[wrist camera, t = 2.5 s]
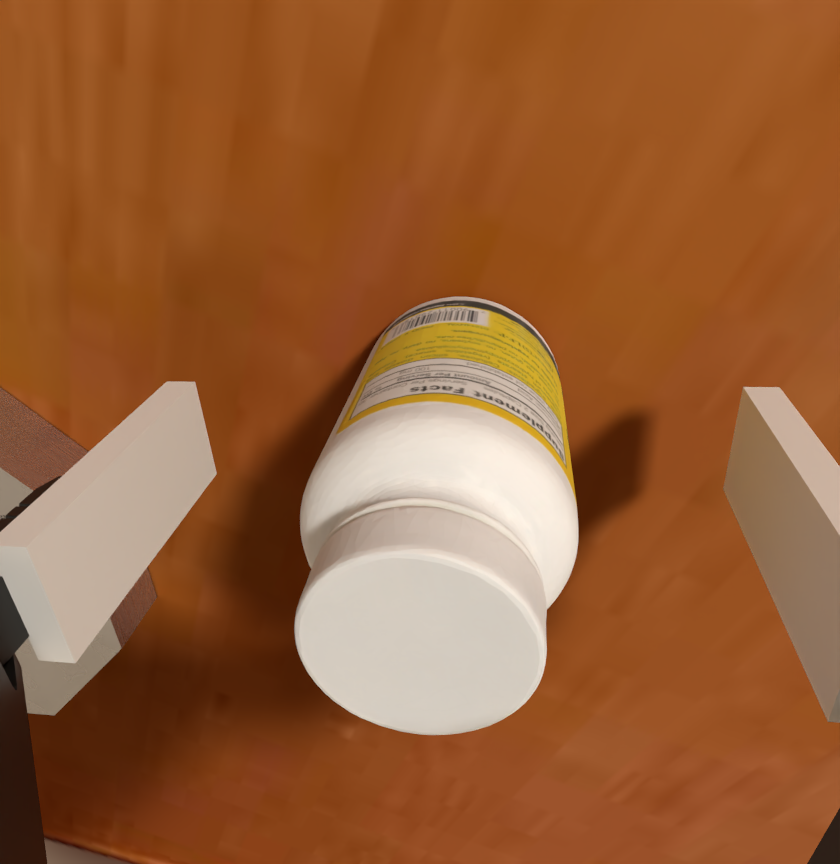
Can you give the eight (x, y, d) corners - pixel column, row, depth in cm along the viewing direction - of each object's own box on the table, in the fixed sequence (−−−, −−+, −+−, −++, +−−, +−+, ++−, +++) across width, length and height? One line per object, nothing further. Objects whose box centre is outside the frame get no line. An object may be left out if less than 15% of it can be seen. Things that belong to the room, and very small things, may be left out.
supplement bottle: (482, 497, 21) (450, 805, 12) (334, 398, 20) (187, 658, 11) (604, 369, 18) (672, 647, 10) (441, 248, 17) (356, 439, 9)
